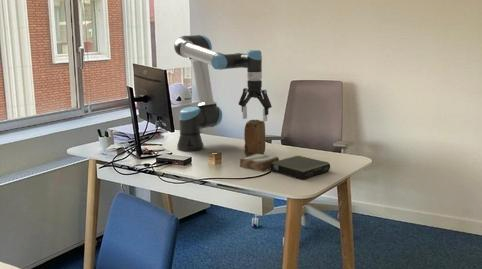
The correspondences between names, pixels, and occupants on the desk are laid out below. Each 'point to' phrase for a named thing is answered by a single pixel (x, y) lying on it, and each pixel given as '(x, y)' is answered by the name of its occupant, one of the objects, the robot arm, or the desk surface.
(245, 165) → the plinth
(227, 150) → the desk surface
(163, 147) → the desk surface
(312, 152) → the desk surface
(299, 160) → the network switch
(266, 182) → the desk surface
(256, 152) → the block
